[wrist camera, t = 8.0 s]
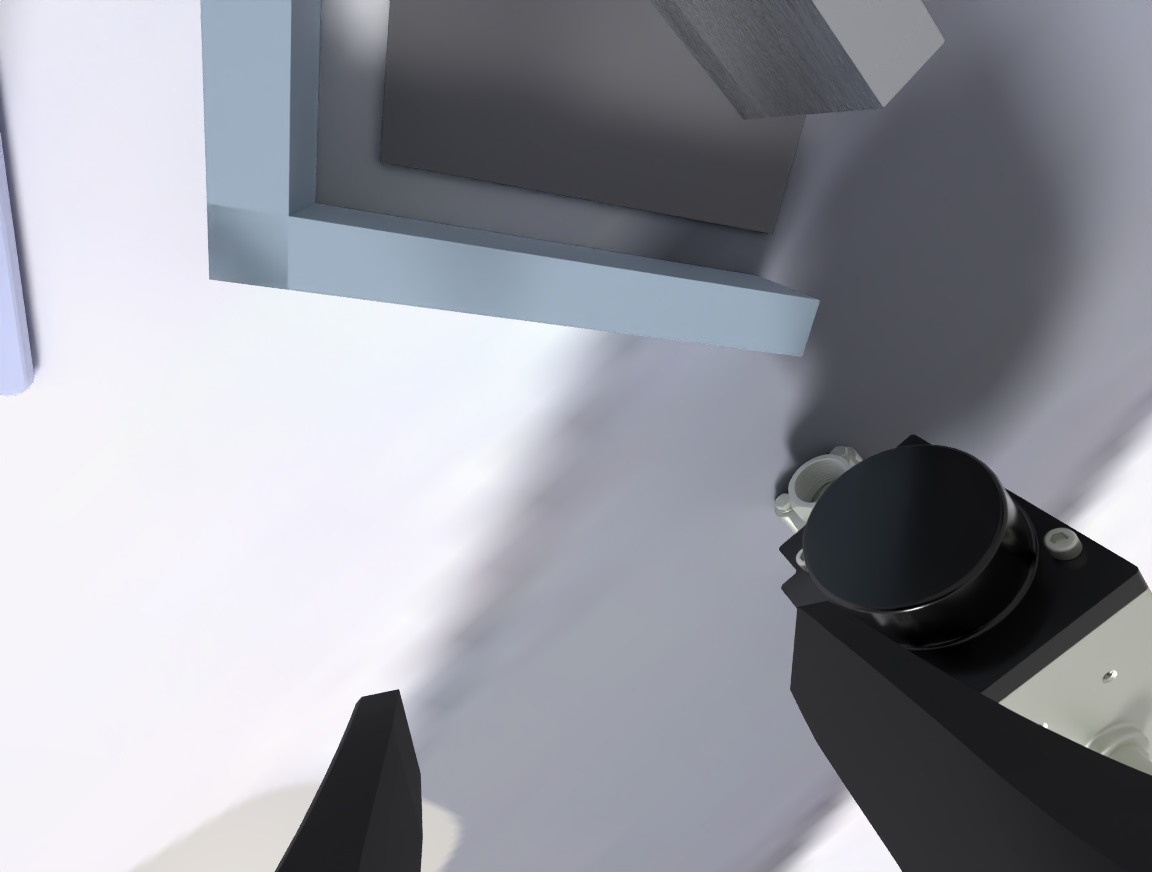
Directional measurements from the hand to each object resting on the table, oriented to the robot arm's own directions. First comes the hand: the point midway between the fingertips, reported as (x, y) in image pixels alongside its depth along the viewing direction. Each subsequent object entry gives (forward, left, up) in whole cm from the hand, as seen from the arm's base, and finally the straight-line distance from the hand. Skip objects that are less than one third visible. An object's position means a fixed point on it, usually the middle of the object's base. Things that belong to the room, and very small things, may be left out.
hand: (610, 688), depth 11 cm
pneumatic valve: (+11, -1, -10) cm, 15 cm away
